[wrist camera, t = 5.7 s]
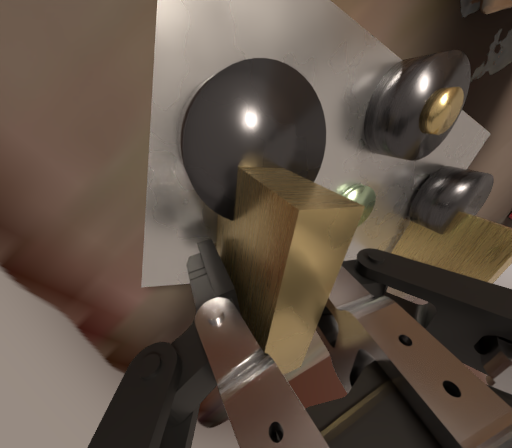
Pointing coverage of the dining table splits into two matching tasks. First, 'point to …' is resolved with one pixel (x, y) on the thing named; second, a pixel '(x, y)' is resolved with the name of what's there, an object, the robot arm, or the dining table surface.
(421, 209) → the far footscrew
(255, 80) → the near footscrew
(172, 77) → the levelling plate
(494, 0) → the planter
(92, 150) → the dining table surface
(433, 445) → the robot arm
